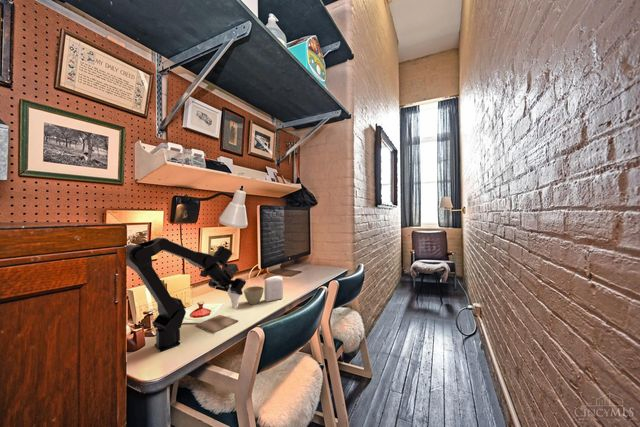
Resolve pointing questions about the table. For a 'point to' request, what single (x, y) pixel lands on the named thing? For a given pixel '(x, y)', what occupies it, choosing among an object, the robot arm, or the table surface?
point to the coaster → (216, 323)
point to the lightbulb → (233, 298)
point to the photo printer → (273, 288)
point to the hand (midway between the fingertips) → (237, 293)
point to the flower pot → (253, 294)
